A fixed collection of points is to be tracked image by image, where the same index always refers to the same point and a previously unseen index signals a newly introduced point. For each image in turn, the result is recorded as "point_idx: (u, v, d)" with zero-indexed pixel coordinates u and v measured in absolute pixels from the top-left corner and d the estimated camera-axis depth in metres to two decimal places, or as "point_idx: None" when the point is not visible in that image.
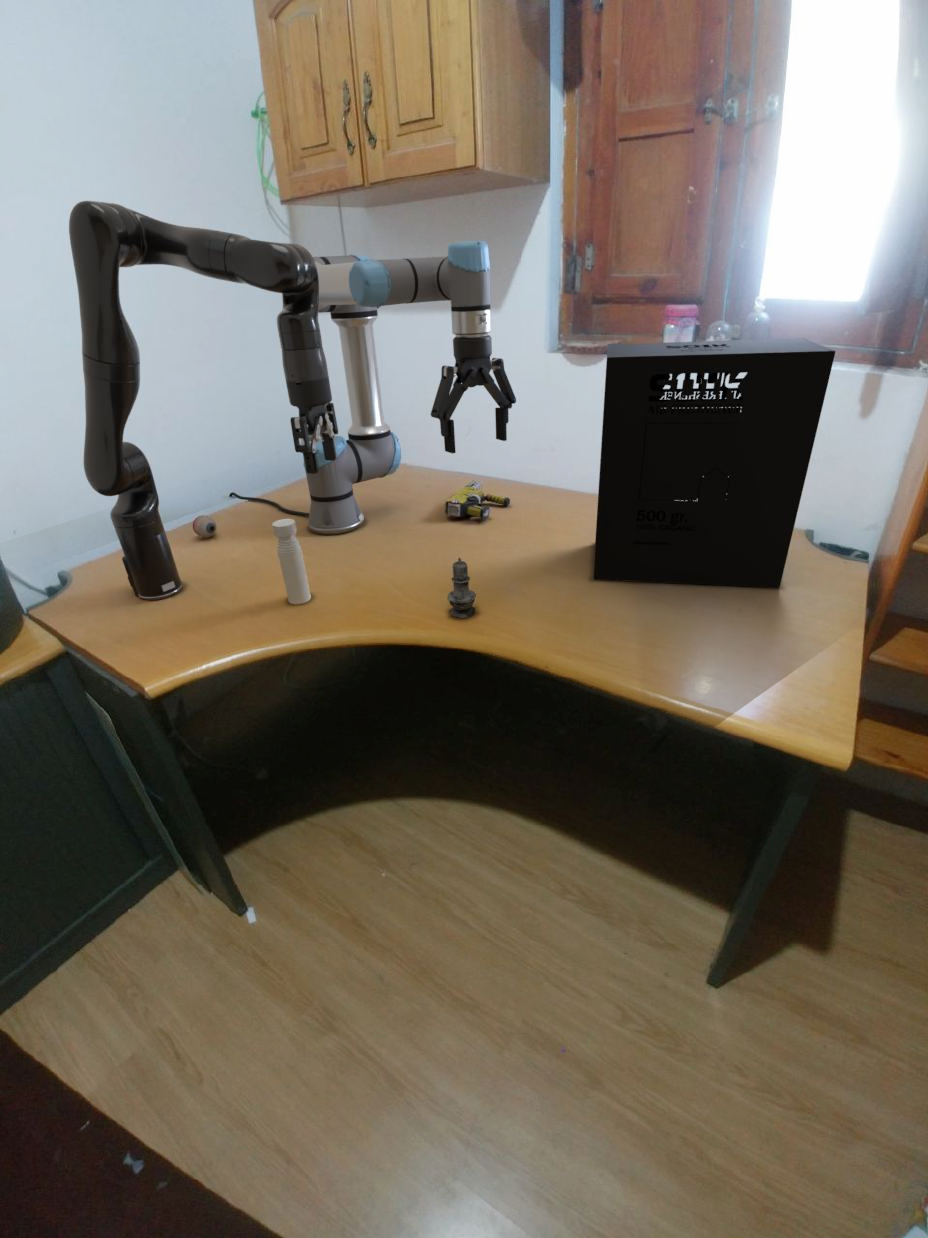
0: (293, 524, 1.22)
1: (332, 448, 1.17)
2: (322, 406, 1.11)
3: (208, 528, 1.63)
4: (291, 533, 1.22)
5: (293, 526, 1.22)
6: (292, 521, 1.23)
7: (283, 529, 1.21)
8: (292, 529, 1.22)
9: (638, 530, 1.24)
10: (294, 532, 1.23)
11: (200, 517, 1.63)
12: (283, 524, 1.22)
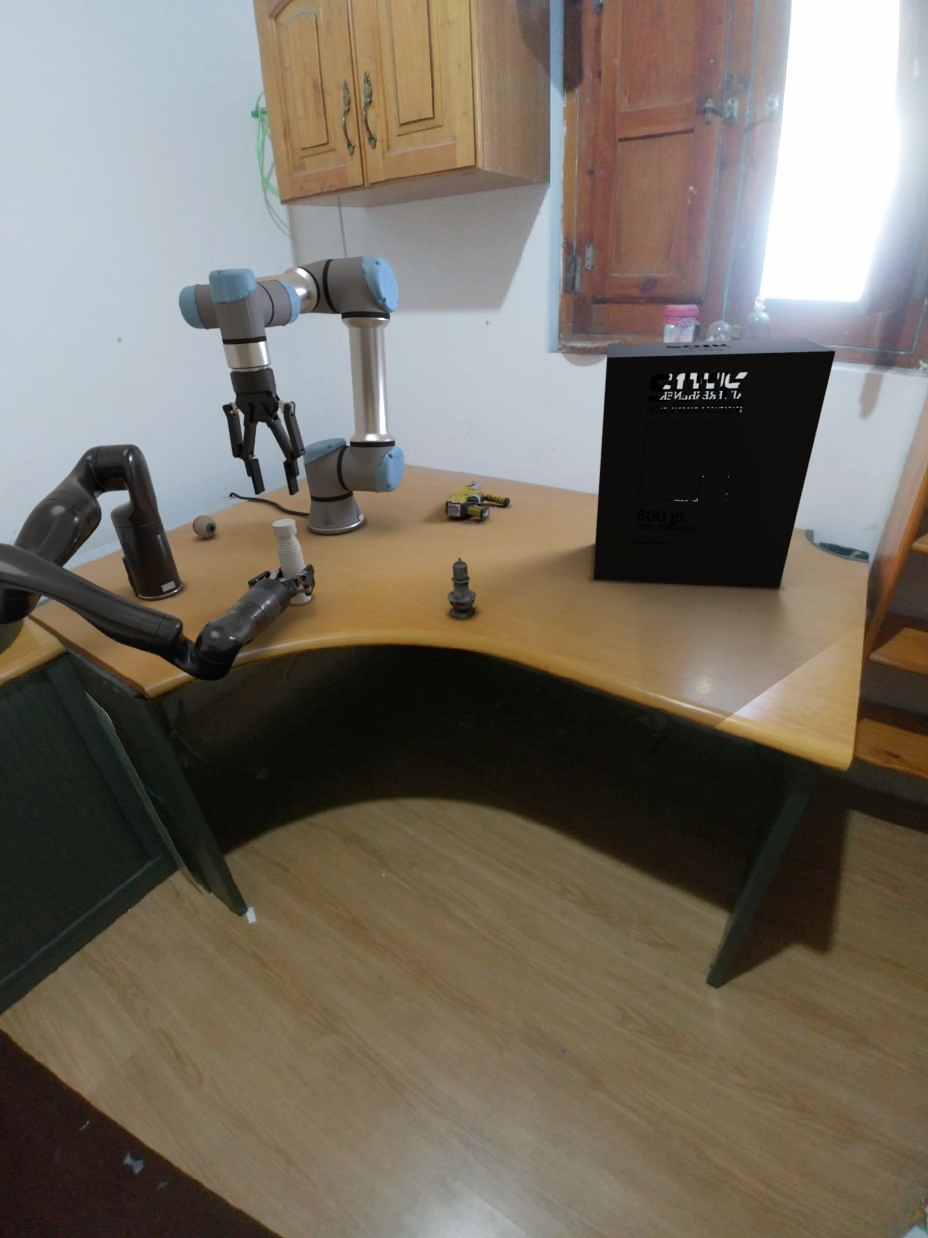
0: (293, 524, 1.22)
1: None
2: None
3: (208, 528, 1.63)
4: (291, 533, 1.22)
5: (293, 526, 1.22)
6: (292, 521, 1.23)
7: (283, 529, 1.21)
8: (292, 529, 1.22)
9: (638, 530, 1.24)
10: (294, 532, 1.23)
11: (200, 517, 1.63)
12: (283, 524, 1.22)
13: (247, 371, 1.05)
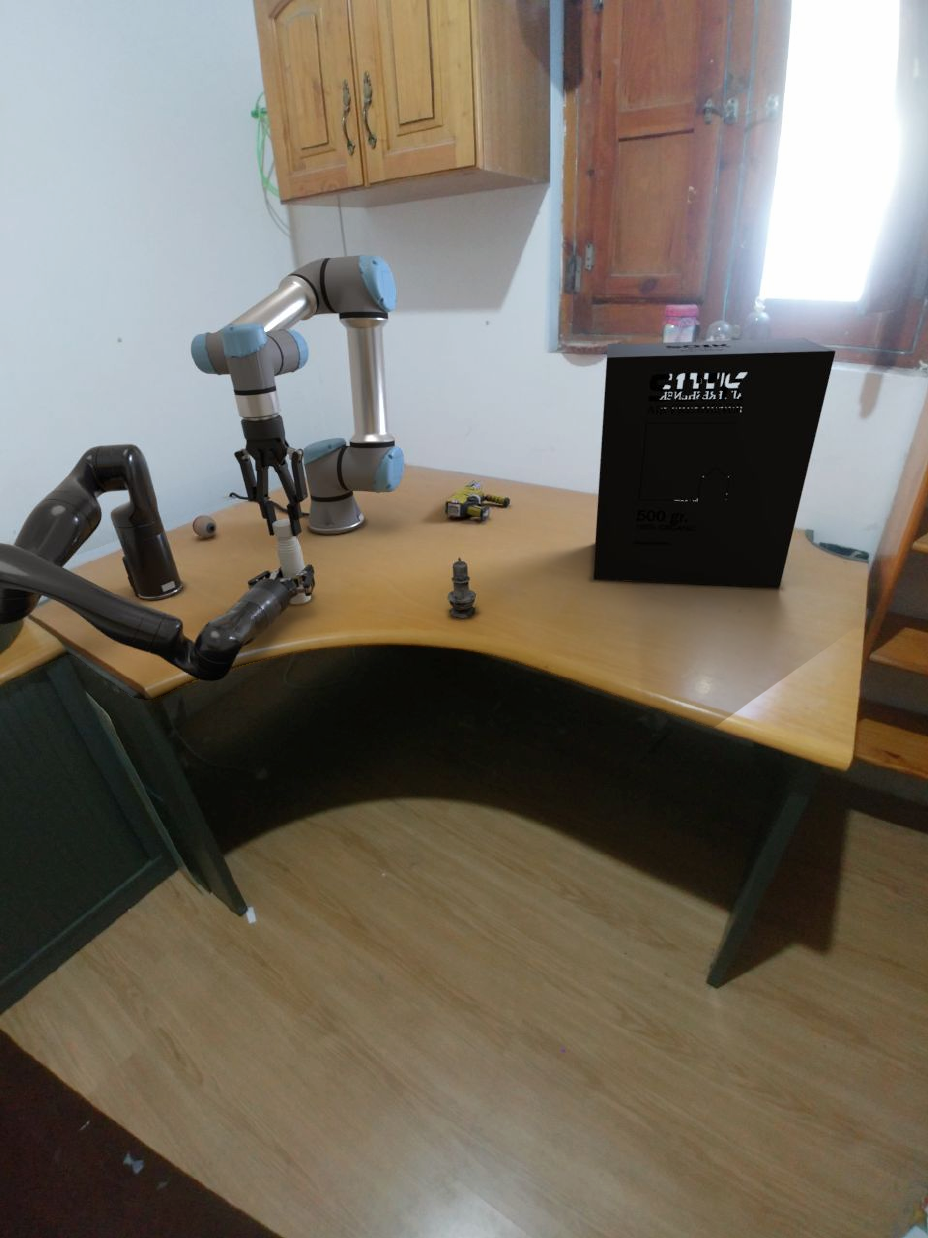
0: None
1: None
2: None
3: (208, 528, 1.63)
4: (291, 533, 1.22)
5: None
6: None
7: (283, 529, 1.21)
8: None
9: (638, 530, 1.24)
10: None
11: (200, 517, 1.63)
12: (283, 524, 1.22)
13: (257, 420, 1.09)
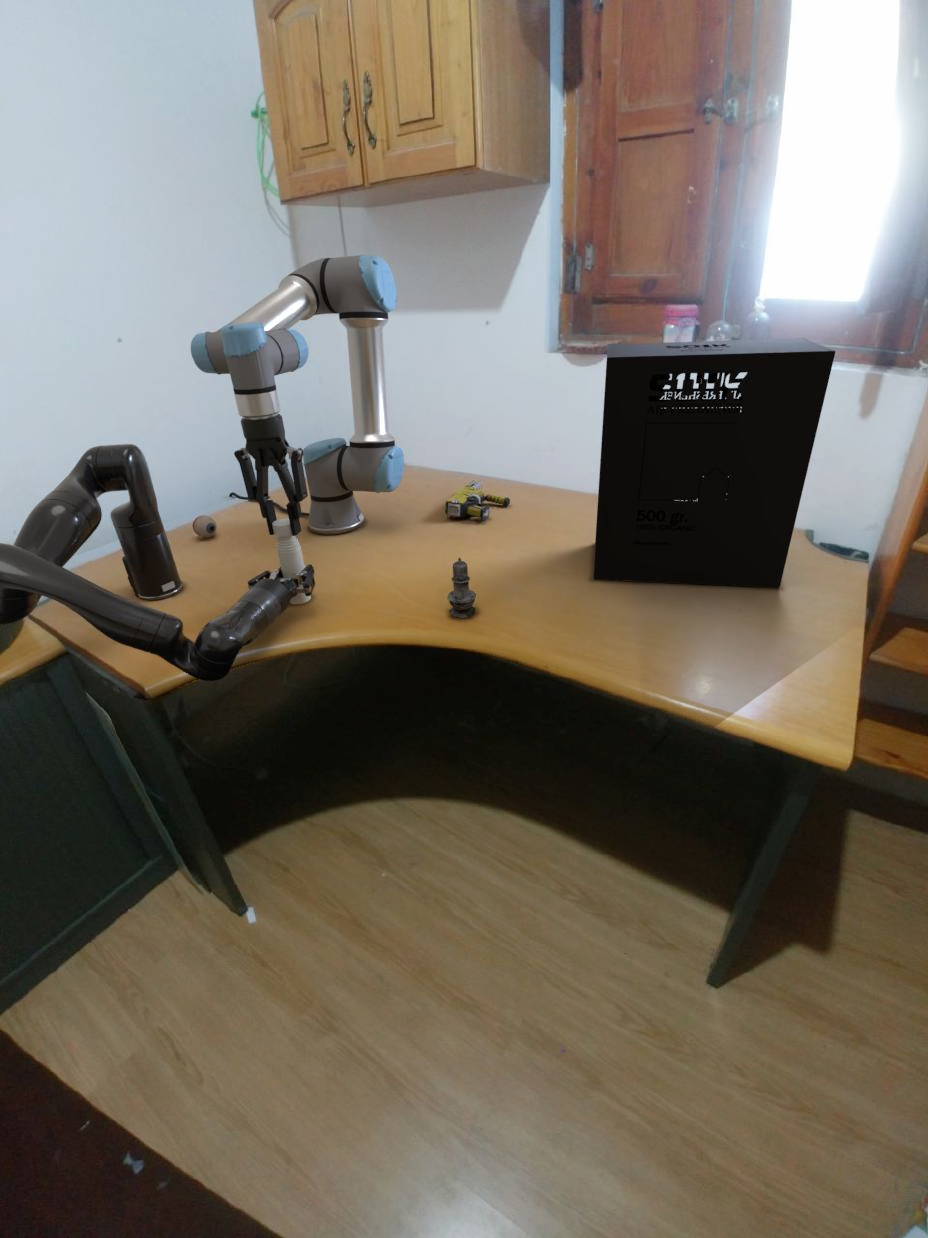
0: None
1: None
2: None
3: (208, 528, 1.63)
4: None
5: None
6: (276, 521, 1.23)
7: None
8: None
9: (638, 530, 1.24)
10: None
11: (200, 517, 1.63)
12: (286, 520, 1.23)
13: (257, 419, 1.09)
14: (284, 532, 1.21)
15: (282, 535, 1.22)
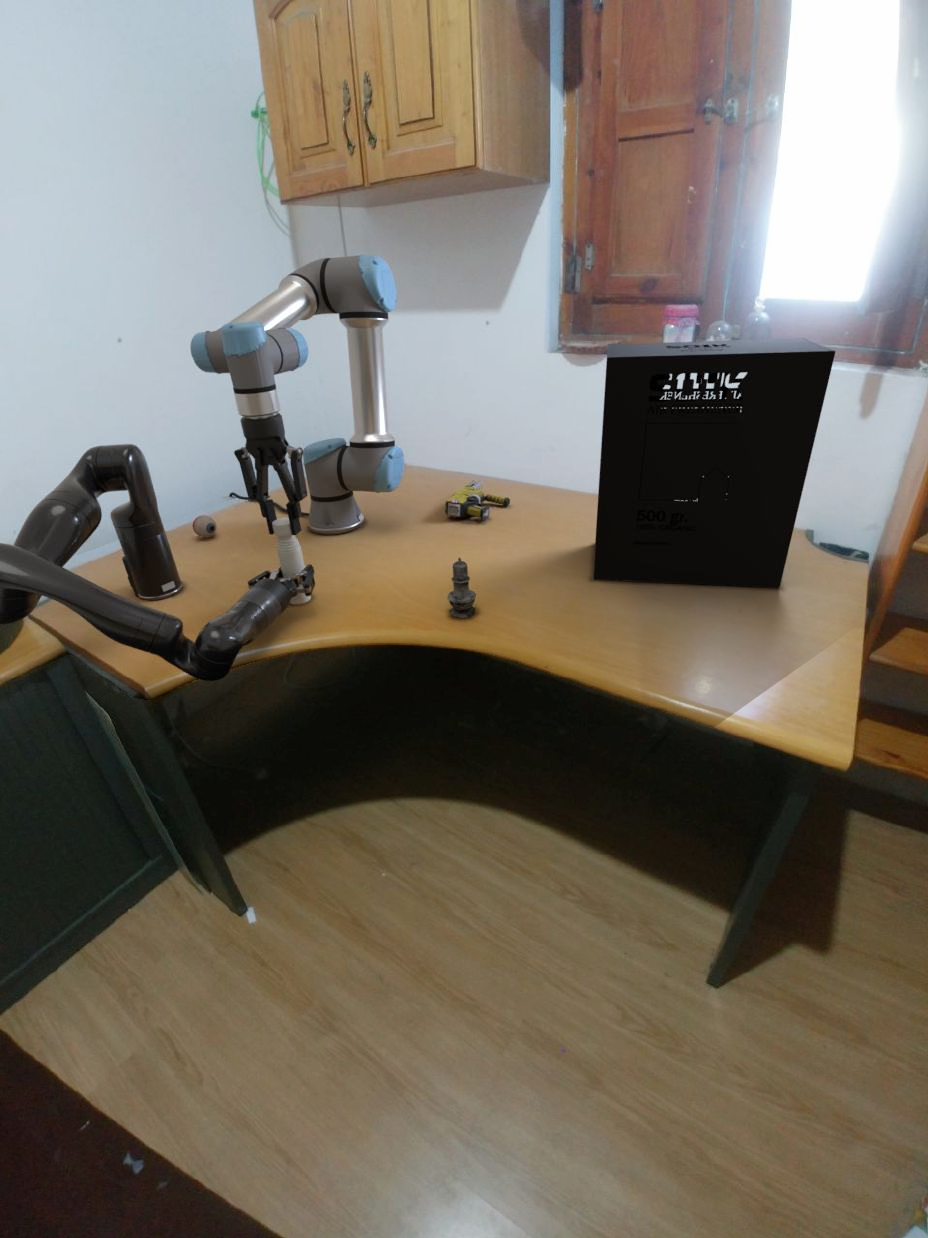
0: (281, 526, 1.21)
1: None
2: None
3: (208, 528, 1.63)
4: (277, 533, 1.22)
5: (280, 528, 1.21)
6: (285, 523, 1.21)
7: (273, 526, 1.22)
8: (279, 530, 1.21)
9: (638, 530, 1.24)
10: (281, 534, 1.21)
11: (200, 517, 1.63)
12: (277, 522, 1.22)
13: (257, 418, 1.09)
14: None
15: None
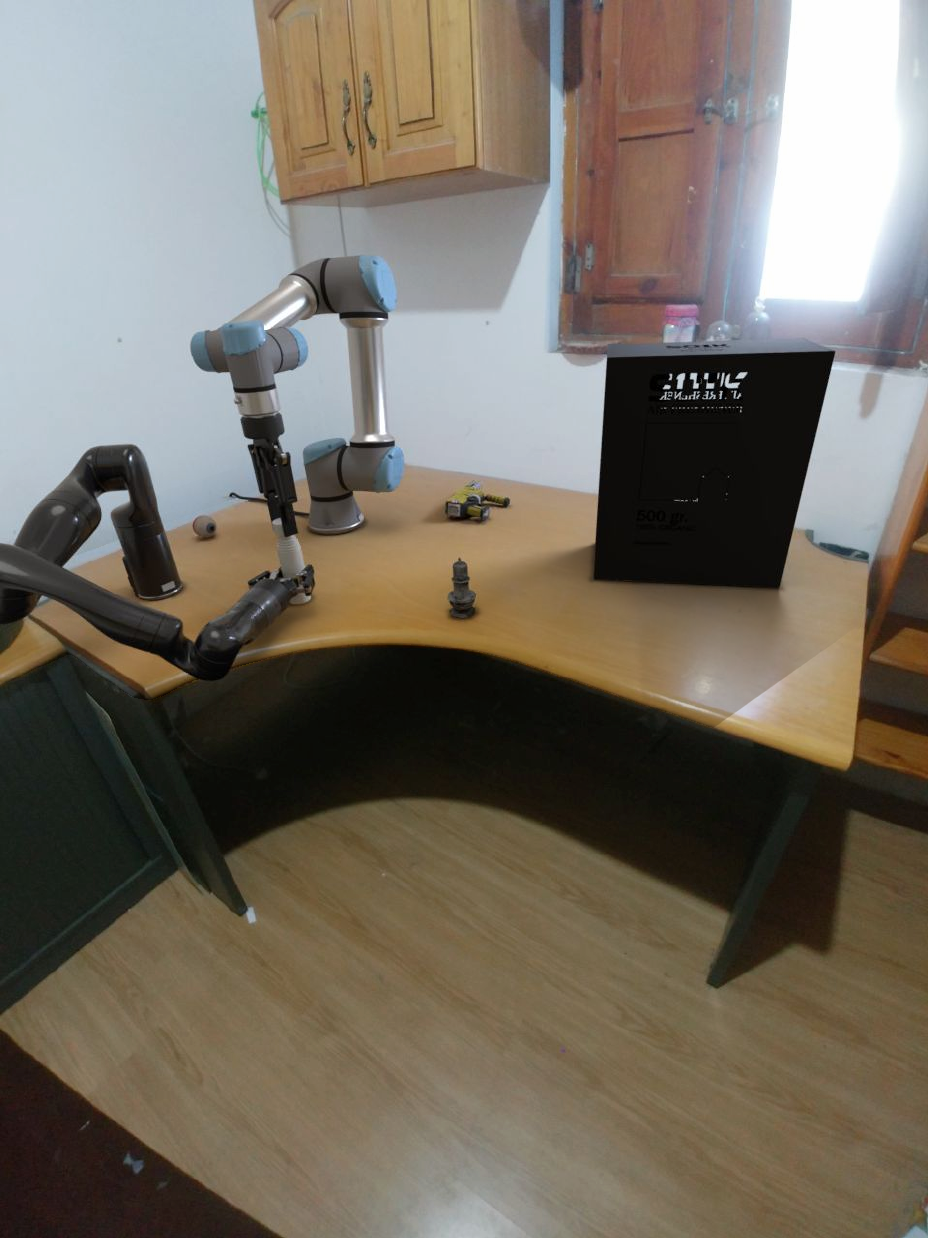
0: None
1: None
2: None
3: (208, 528, 1.63)
4: None
5: None
6: None
7: None
8: None
9: (638, 530, 1.24)
10: None
11: (200, 517, 1.63)
12: None
13: None
14: None
15: (274, 531, 1.23)
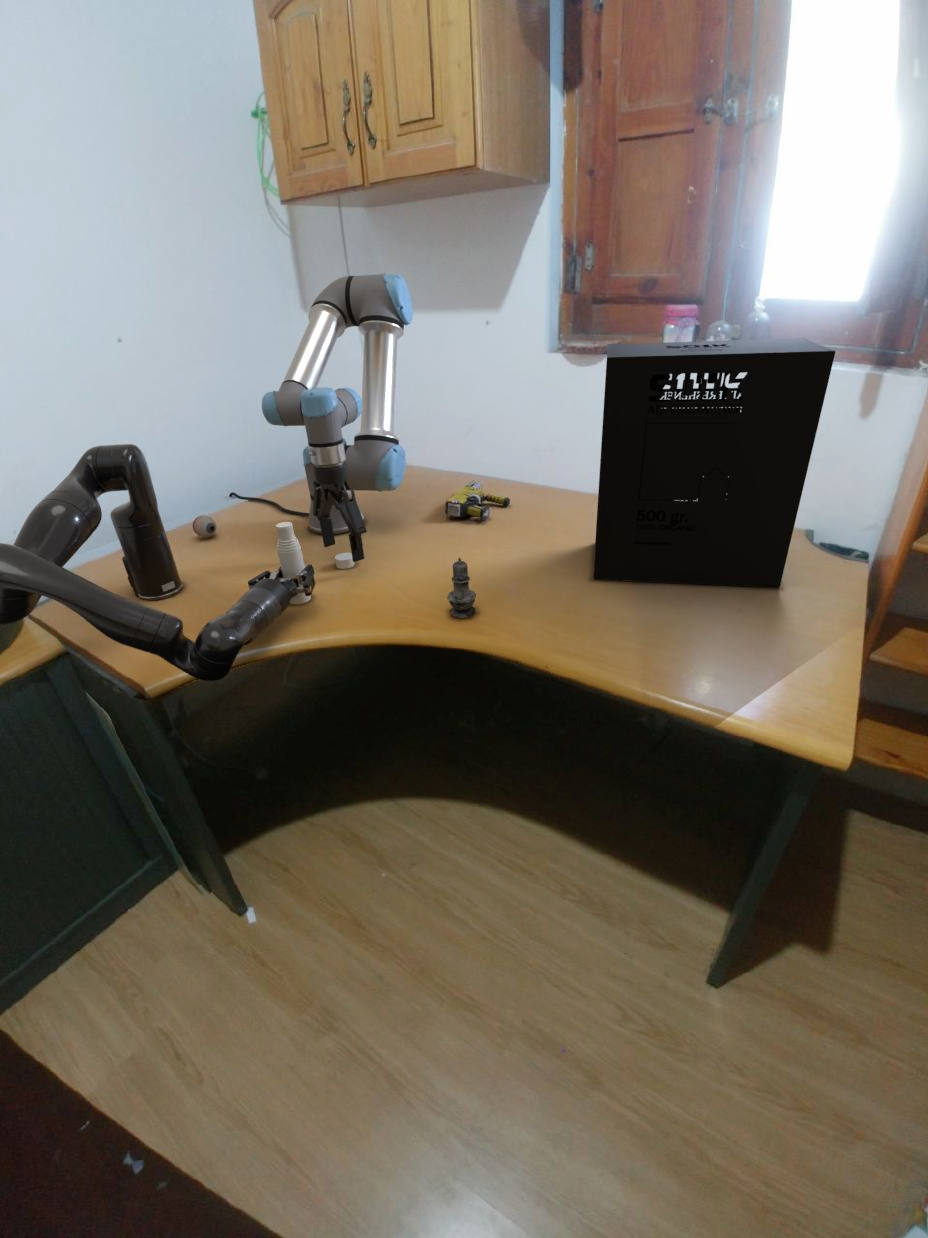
0: None
1: None
2: None
3: (208, 528, 1.63)
4: None
5: None
6: (346, 553, 1.46)
7: None
8: None
9: (638, 530, 1.24)
10: None
11: (200, 517, 1.63)
12: (348, 556, 1.44)
13: None
14: (336, 564, 1.44)
15: (336, 565, 1.45)
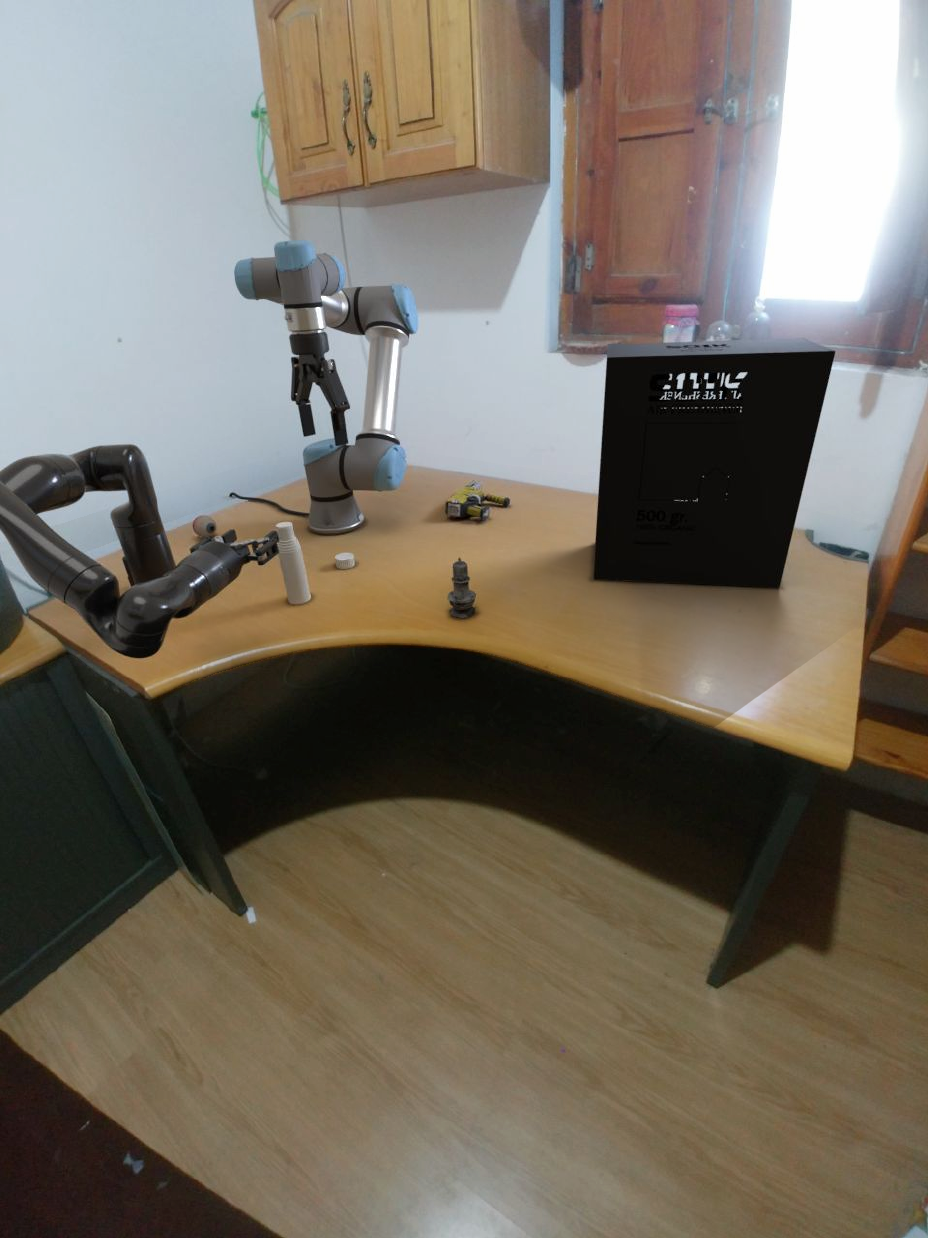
0: None
1: (228, 534, 1.11)
2: None
3: (208, 528, 1.63)
4: None
5: None
6: (346, 553, 1.46)
7: (353, 558, 1.45)
8: None
9: (638, 530, 1.24)
10: None
11: (200, 517, 1.63)
12: (348, 556, 1.44)
13: None
14: (336, 564, 1.44)
15: (336, 565, 1.45)
